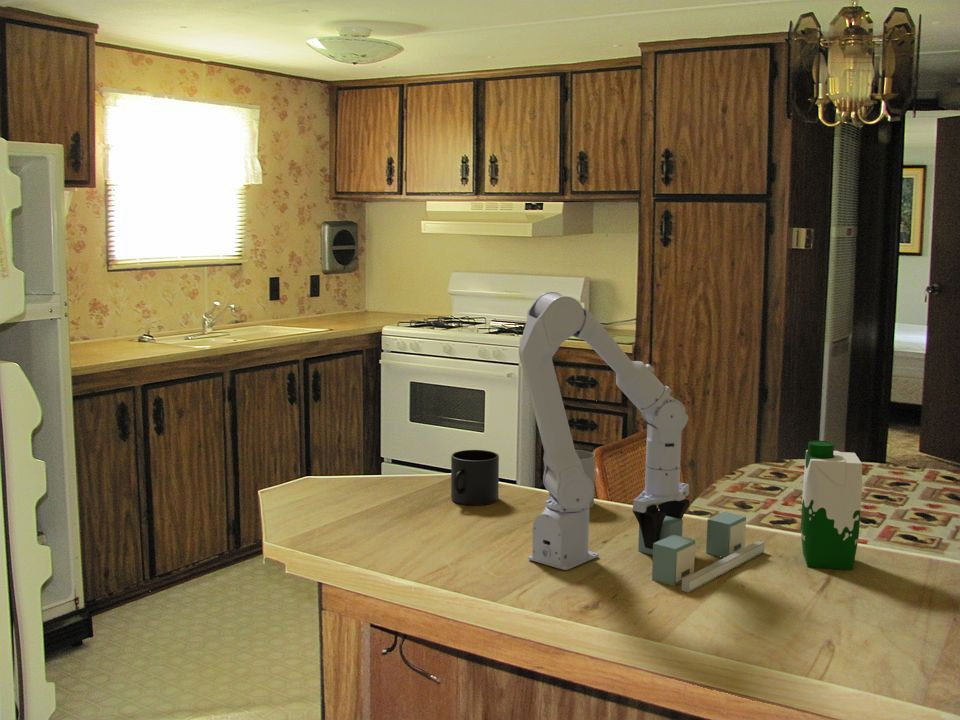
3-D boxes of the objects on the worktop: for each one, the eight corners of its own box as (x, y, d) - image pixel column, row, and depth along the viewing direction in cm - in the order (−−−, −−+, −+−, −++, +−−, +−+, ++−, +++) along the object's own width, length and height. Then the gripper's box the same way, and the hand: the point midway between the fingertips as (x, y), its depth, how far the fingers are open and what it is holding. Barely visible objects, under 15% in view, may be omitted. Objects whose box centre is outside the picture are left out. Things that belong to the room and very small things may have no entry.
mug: (434, 504, 202) (434, 459, 201) (468, 490, 212) (468, 447, 211) (474, 512, 197) (475, 466, 196) (507, 497, 207) (507, 453, 206)
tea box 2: (675, 586, 159) (676, 549, 158) (651, 580, 162) (653, 543, 161) (695, 576, 164) (696, 540, 163) (672, 570, 167) (673, 534, 166)
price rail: (689, 592, 157) (689, 581, 156) (681, 590, 158) (681, 579, 157) (764, 552, 175) (765, 542, 175) (757, 550, 176) (757, 540, 176)
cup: (595, 510, 199) (596, 460, 197) (552, 510, 199) (553, 459, 197) (591, 498, 207) (592, 449, 206) (550, 497, 207) (551, 449, 206)
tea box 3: (728, 559, 172) (730, 524, 171) (706, 553, 175) (707, 519, 174) (745, 550, 176) (747, 516, 176) (723, 545, 179) (724, 511, 178)
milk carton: (796, 551, 176) (803, 436, 173) (852, 555, 174) (859, 439, 171) (801, 568, 168) (808, 448, 165) (860, 572, 166) (868, 451, 163)
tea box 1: (682, 553, 175) (683, 519, 174) (668, 559, 172) (670, 524, 171) (651, 545, 179) (652, 512, 178) (638, 551, 175) (639, 517, 175)
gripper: (660, 478, 165) (657, 560, 167) (705, 462, 175) (702, 539, 177) (623, 471, 169) (620, 550, 171) (669, 455, 180) (667, 530, 182)
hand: (660, 544), depth 175 cm, fingers open, 5 cm apart
